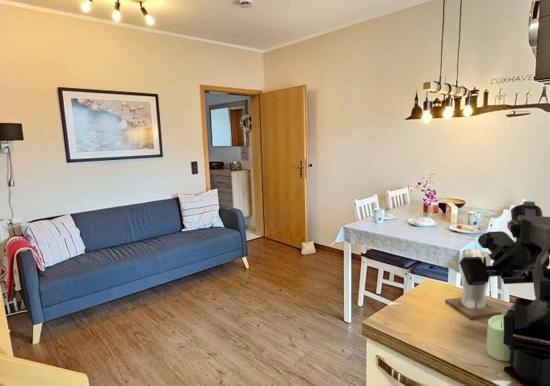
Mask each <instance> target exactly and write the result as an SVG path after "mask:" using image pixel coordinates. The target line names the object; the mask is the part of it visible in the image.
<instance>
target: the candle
mask: <svg viewBox="0 0 550 386" xmlns="http://www.w3.org/2000/svg"><path fill="white" fill-rule="evenodd" d="M505 315H506V314H501V315H496V316H493V317H490V318H488V322H487V331H486V334H487V335H486V345H485V346H486V347H485V352H486V353H487V355H489V356H490V357H491V358H493V359H495V360H497V361H500V362H501V361H502V362H509V360H510V350H509V347H508V346H507V345H505V344H504V343H503V338H504V323H503V317H504V316H505ZM513 336H516V335H514V334H513Z"/></svg>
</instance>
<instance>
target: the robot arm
mask: <svg viewBox="0 0 550 386" xmlns="http://www.w3.org/2000/svg"><path fill="white" fill-rule="evenodd" d="M510 217H511V219H510V220H509V221H507V229H508V231H509V232H510V233H511V235H512V237H513V238H515V240H513V239H512V237H510V235H509V234H508V233H507V232H505V231H488V232H483V233H481V234H480V235H479V237H478V239H477V242H478V244H479V246H480V247H481V248H482V249H488V251H489V253H490V255H489V256H490V258H491V261H493V262H492V265H491V266H484V263H483V261H482V259H481V258H480V257H464V258H463V259H462V258H461V259H462V260H460V261H459V265H460V269H461V268H462V271H463V273H464V276H465V278H466V281H467V283H468V285H469V286H471V285H485V283H487V282H488V281H490V278H493V277H500V278H501V280H502V283H503V284H504V285H515V284H532V285H533V290H534V291H533V293H534V297H535V299H528V298H522V297H517V298H515V300H514V301H513V300H512V305H511V306H510V309H507V310H506V313H505V314H504V315H505V316H504V317H503V323H504V338H503V343H504V344H505V345H507V346H508V347H509V350H510V360H509V361H508V363H509V365H507V366H504V367H503V371H504V372H506V373H507V374H508V375H509V376H510V377H512V378H513V379H515V381H518V382H519V383H520V384H521V385H523V386H550V268H549V266H550V216H543V211H542V208H541V207H539V206H538V205H536V202H535V201H523V203H521V204H518V205H515V206H514V207H513V208H511V209H510ZM489 272H490V273H489ZM489 277H490V278H489ZM488 283H489V282H488ZM513 334H514V335H515V336H513ZM531 338H532V339H531ZM535 339H536V340H535ZM546 341H547V342H546Z"/></svg>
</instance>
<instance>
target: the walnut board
mask: <svg viewBox="0 0 550 386" xmlns="http://www.w3.org/2000/svg"><path fill="white" fill-rule="evenodd" d="M461 298H462V296H461V297H454V298H446V299H445V301H444V303H445V304H446V305H448V306H449V307H451V308H452V309H454V310H455V311H457V312H459V314H461V315H463V316H464V317H465V318H468V319H469V320H470V321H477V320H482V319H490V318H491V317H493V316H496V315H503V314H502V313H503V312H502V311H501V310H499V309H496V308H495V307H493V306H491V305H489V304H488V303H486V309H485V310H483V311H473V310H469V309H467V308H464V307H463V306H462V305H461Z"/></svg>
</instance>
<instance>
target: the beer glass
mask: <svg viewBox="0 0 550 386" xmlns="http://www.w3.org/2000/svg"><path fill="white" fill-rule="evenodd" d="M490 254H491V252H487V251H484V250H481V249H473V248H472V249H471V248H469V249H463V250H462V252H461V260H462V259H463V258H464V257H480V258H481V259H482V261H483V263H484V266H492V262H491V261H492V260H491V258H490V256H489V255H490ZM461 260H460V261H461ZM489 273H490V272H489ZM460 276H461V277H460V278H461V284H462V295H461V297H462V298H461V305H462V306H463V307H464V308H467V309H469V310H473V311H483V310H485V309H486V304H487V302H486V292H487V288H488V285H489V281H490V280H489V281H488V282H487V283H485V285H471V286H469V285H468V283H467V281H466V278H465V276H464V273H463V271H462V268H461V267H460ZM490 278H491V277H489V279H490Z"/></svg>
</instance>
